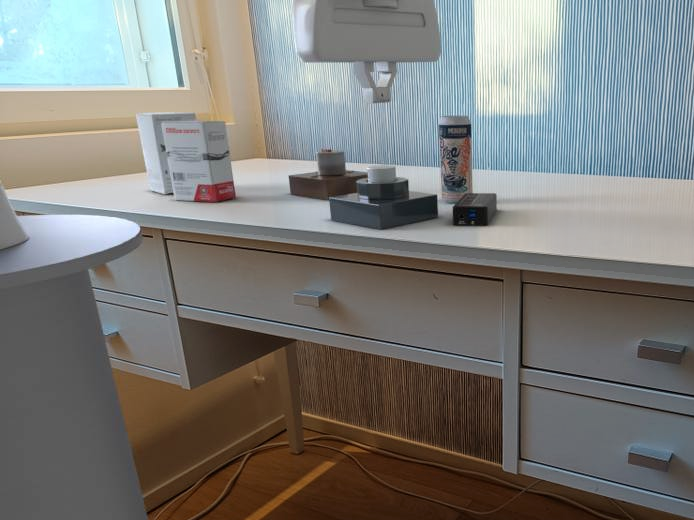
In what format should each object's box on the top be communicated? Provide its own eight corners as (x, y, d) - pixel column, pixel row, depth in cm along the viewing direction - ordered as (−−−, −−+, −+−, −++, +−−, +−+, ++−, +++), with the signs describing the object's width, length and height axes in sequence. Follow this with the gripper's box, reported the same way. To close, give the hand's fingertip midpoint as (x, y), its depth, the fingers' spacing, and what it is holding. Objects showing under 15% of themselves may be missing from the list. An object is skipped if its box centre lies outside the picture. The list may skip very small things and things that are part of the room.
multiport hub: (497, 210, 95) (496, 193, 94) (487, 225, 85) (487, 206, 84) (465, 209, 96) (465, 192, 95) (452, 225, 86) (451, 206, 85)
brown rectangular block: (327, 200, 106) (325, 179, 104) (290, 194, 112) (288, 174, 111) (377, 191, 112) (376, 172, 111) (339, 186, 119) (338, 168, 117)
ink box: (237, 197, 109) (226, 119, 105) (215, 202, 105) (202, 121, 100) (196, 195, 112) (183, 119, 108) (173, 200, 108) (158, 121, 103)
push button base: (380, 229, 84) (377, 188, 82) (330, 220, 90) (327, 181, 88) (438, 217, 91) (437, 178, 89) (388, 209, 97) (385, 173, 95)
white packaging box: (164, 195, 113) (149, 113, 108) (149, 190, 118) (134, 112, 113) (208, 190, 118) (196, 112, 113) (192, 186, 123) (179, 111, 118)
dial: (351, 173, 111) (349, 149, 109) (328, 176, 108) (325, 151, 107) (336, 171, 114) (334, 147, 112) (313, 174, 111) (310, 149, 110)
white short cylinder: (380, 186, 86) (379, 169, 86) (362, 183, 89) (361, 167, 88) (402, 182, 89) (401, 166, 88) (383, 180, 91) (382, 164, 90)
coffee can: (437, 203, 101) (434, 117, 96) (445, 198, 105) (442, 115, 101) (469, 203, 100) (467, 116, 96) (475, 198, 104) (474, 115, 100)
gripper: (414, -15, 89) (420, 99, 94) (278, -29, 75) (294, 106, 80) (450, -20, 85) (454, 99, 90) (312, -36, 71) (327, 106, 76)
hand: (378, 103), depth 85 cm, fingers closed
